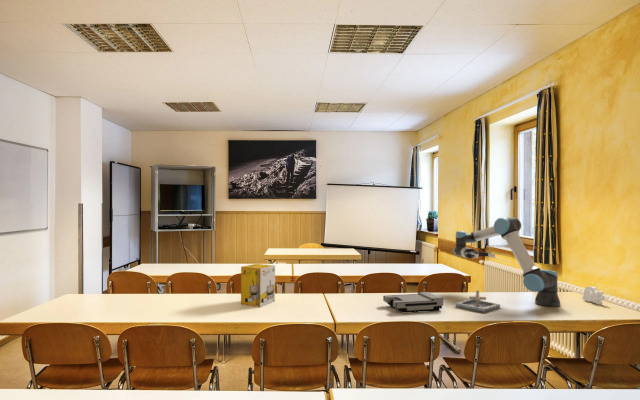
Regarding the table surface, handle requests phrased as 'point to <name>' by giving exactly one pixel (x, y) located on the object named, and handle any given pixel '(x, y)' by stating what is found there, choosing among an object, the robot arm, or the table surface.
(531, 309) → the table surface
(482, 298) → the pipe connector
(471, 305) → the carrier plate
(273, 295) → the packaging box
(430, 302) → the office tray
